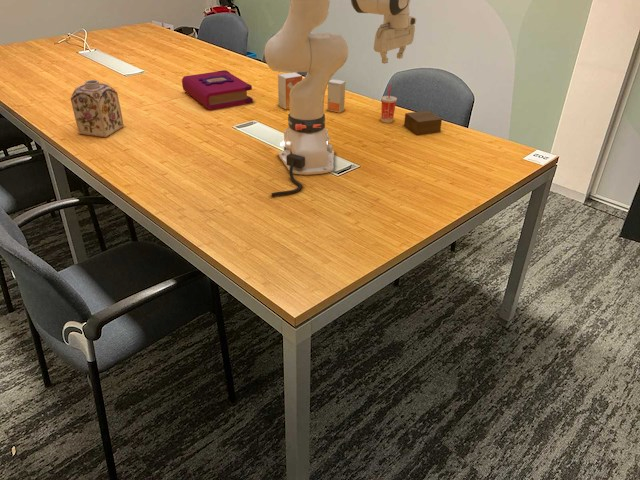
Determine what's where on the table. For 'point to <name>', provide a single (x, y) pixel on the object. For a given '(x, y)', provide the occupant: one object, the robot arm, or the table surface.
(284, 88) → the small box
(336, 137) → the table surface
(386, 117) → the beverage cup
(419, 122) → the walnut block
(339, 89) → the cosmetic box
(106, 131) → the decorative jar
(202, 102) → the book
